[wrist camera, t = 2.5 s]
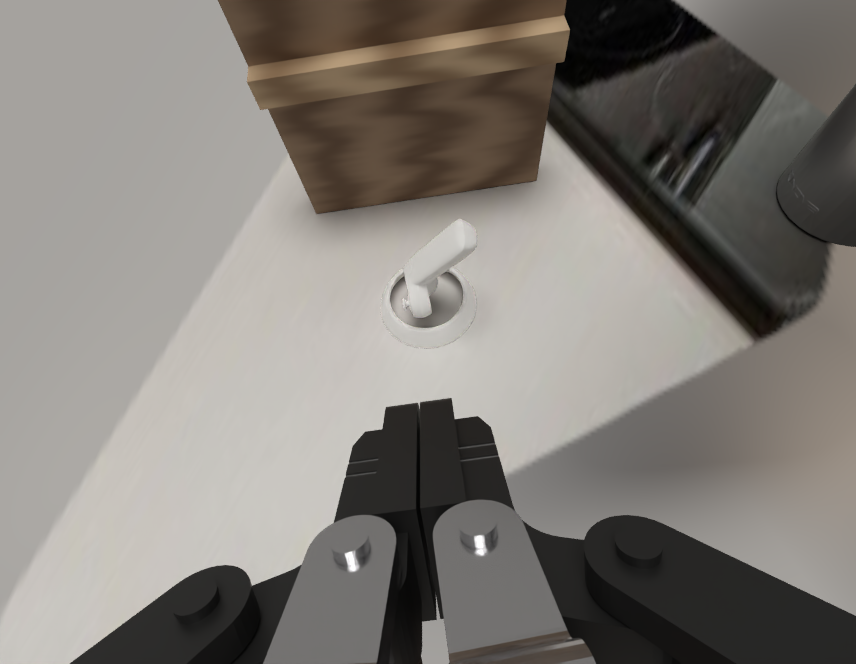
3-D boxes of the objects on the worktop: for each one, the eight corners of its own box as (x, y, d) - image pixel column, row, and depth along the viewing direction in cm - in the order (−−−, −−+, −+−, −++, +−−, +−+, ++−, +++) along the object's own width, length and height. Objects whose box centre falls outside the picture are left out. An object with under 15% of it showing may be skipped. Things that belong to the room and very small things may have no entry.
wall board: (531, 164, 42) (567, -81, 26) (540, 193, 40) (584, -49, 24) (316, 196, 42) (220, -22, 26) (316, 226, 41) (214, 13, 25)
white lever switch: (558, 306, 30) (473, 306, 26) (453, 355, 39) (380, 360, 35) (530, 203, 31) (447, 188, 28) (436, 274, 41) (365, 270, 37)
